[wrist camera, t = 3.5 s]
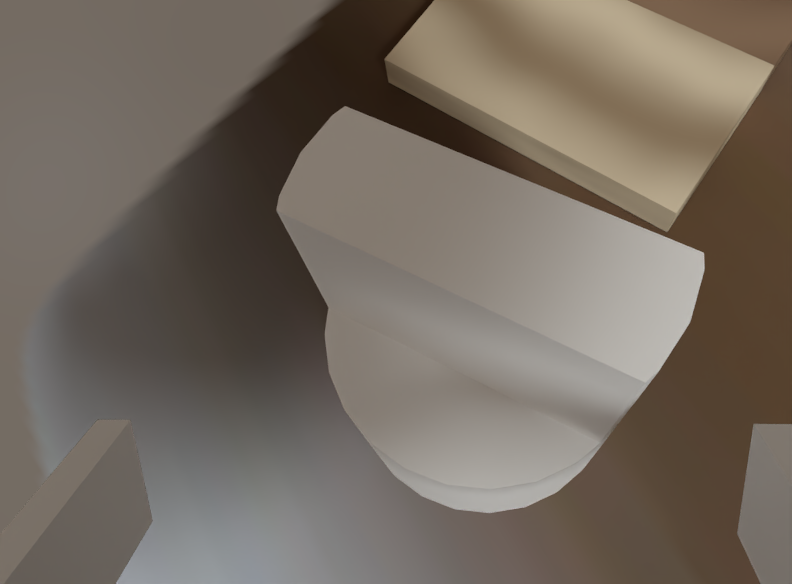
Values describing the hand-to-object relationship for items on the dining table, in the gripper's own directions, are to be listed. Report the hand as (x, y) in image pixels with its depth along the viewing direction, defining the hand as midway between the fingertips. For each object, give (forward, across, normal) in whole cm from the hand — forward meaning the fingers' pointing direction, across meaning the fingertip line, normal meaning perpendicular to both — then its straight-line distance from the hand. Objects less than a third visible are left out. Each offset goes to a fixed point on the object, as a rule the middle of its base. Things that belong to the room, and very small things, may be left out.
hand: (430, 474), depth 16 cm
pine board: (+24, +10, +11) cm, 29 cm away
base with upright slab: (+10, +1, -4) cm, 11 cm away
